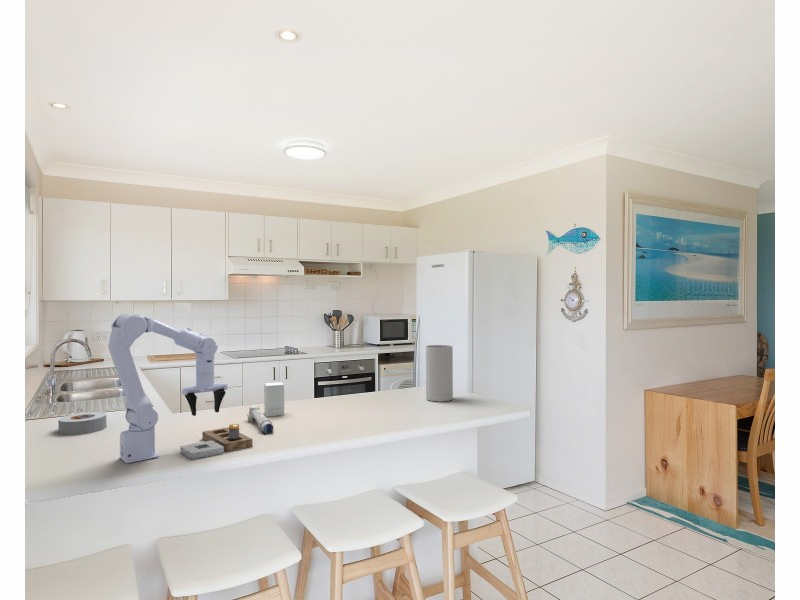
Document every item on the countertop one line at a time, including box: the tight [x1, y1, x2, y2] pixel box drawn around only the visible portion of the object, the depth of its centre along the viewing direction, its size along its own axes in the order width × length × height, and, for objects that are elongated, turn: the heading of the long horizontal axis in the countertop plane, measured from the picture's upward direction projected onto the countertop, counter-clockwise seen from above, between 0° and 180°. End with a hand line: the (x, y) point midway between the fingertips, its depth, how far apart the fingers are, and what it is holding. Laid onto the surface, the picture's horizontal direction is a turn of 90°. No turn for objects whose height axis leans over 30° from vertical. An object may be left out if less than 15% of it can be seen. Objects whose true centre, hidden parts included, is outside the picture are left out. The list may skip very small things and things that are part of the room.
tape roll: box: [57, 411, 108, 436], centre depth 197 cm, size 15×15×5 cm
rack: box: [202, 426, 254, 453], centre depth 178 cm, size 9×20×2 cm, turn 41°
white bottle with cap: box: [246, 404, 274, 435], centre depth 201 cm, size 5×7×25 cm
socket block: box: [180, 440, 225, 461], centre depth 167 cm, size 10×10×2 cm
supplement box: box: [263, 381, 285, 417], centre depth 220 cm, size 7×7×13 cm
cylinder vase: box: [425, 344, 454, 403], centre depth 248 cm, size 12×12×25 cm
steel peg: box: [228, 423, 240, 442], centre depth 174 cm, size 3×3×7 cm
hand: (205, 413), depth 178 cm, fingers open, 7 cm apart
